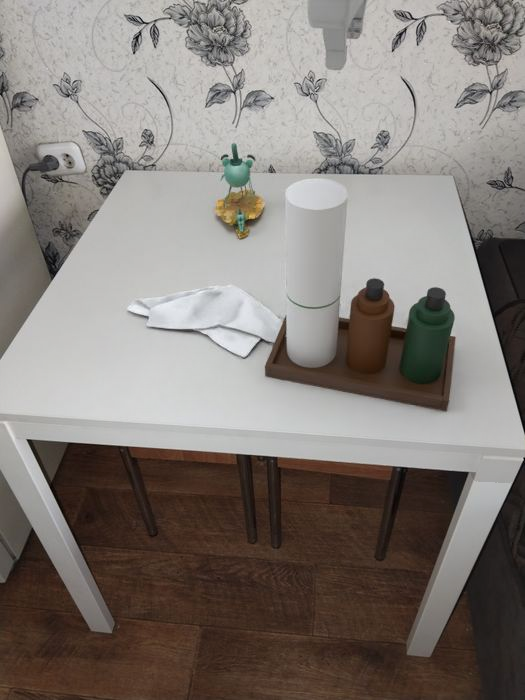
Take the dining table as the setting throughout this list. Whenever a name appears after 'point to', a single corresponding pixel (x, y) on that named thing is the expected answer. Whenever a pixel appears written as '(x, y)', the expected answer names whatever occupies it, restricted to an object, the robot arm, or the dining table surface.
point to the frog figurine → (238, 194)
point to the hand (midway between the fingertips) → (344, 51)
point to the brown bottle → (369, 328)
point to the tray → (375, 384)
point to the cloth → (213, 316)
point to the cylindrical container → (314, 268)
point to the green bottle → (427, 337)
